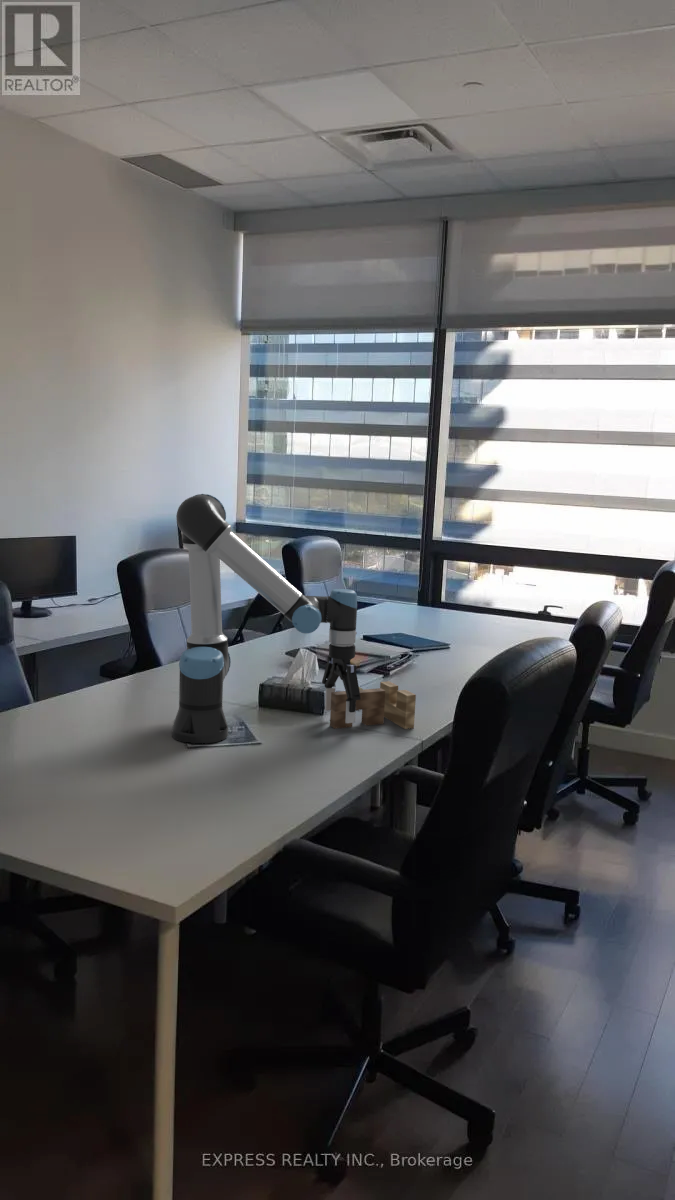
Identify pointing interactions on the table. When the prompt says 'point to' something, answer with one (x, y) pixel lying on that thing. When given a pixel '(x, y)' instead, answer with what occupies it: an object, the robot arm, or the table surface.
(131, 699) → the table surface
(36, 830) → the table surface
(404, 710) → the oak board
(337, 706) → the walnut plate
